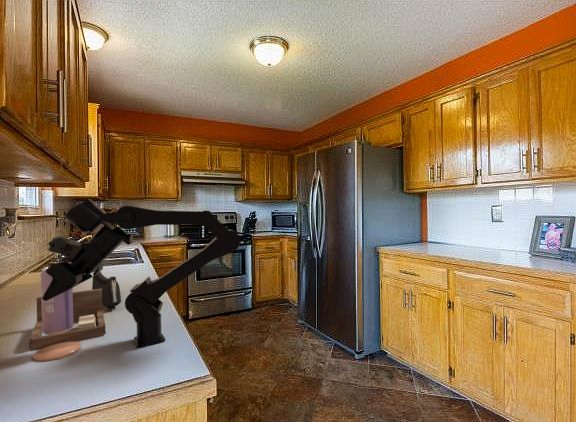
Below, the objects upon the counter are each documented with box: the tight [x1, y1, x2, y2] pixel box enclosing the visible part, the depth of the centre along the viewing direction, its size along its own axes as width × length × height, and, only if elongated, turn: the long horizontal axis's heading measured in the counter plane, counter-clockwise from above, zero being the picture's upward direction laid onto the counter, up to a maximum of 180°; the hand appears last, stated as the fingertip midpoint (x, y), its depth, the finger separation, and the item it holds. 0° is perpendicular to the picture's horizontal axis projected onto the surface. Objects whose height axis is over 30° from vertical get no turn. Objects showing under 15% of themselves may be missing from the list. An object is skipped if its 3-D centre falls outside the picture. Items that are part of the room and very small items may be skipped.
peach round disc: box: [32, 341, 82, 362], centre depth 73 cm, size 9×9×1 cm
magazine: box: [91, 270, 122, 310], centre depth 116 cm, size 17×3×30 cm
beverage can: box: [40, 266, 75, 336], centre depth 74 cm, size 6×6×15 cm
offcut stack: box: [78, 314, 97, 329], centre depth 87 cm, size 10×4×4 cm, turn 33°
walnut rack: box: [28, 289, 107, 351], centre depth 86 cm, size 18×16×9 cm
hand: (50, 296), depth 73 cm, fingers closed on beverage can, 6 cm apart
